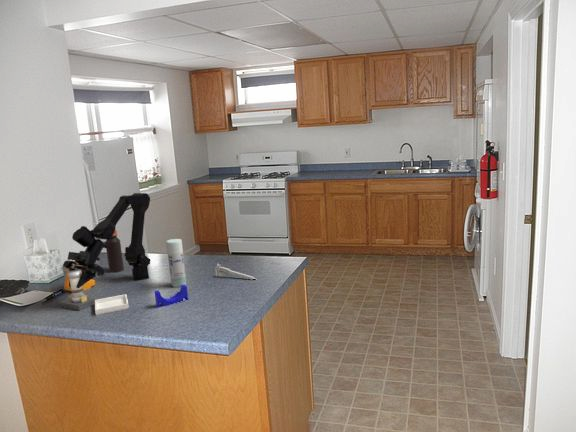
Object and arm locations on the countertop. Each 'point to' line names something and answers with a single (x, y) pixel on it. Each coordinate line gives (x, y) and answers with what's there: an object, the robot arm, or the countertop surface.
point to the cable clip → (174, 299)
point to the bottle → (114, 254)
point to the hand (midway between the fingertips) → (73, 287)
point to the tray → (111, 304)
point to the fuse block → (79, 303)
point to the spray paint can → (176, 262)
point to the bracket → (85, 286)
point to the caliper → (230, 272)
